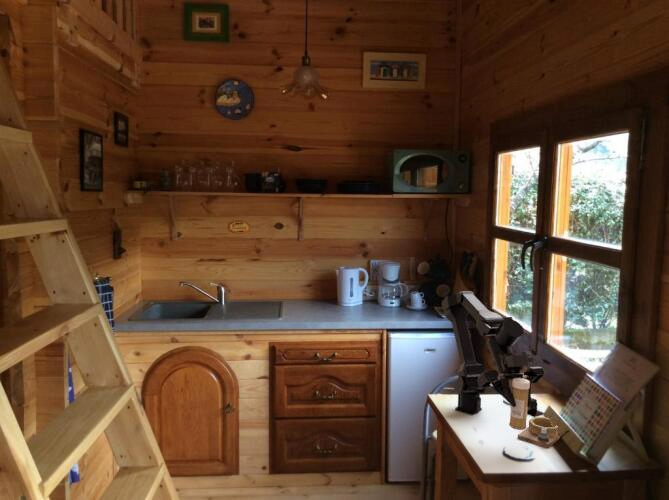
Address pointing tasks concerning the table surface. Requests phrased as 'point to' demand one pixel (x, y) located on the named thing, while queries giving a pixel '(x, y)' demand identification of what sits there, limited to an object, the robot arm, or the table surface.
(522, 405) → the sprinkles bottle
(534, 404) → the black angular block
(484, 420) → the table surface
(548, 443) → the stand
